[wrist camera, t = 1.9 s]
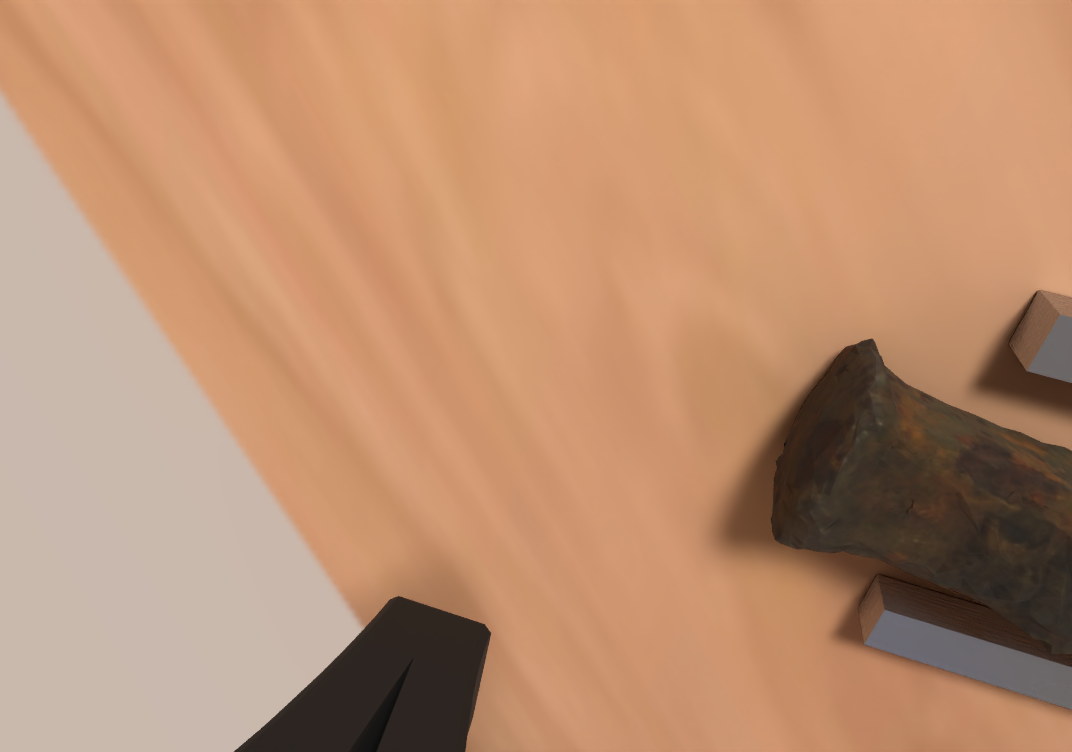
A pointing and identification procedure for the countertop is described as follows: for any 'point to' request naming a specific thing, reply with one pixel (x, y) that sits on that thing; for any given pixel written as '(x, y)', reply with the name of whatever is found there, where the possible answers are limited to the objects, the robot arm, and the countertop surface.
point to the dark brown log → (930, 494)
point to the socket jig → (967, 628)
